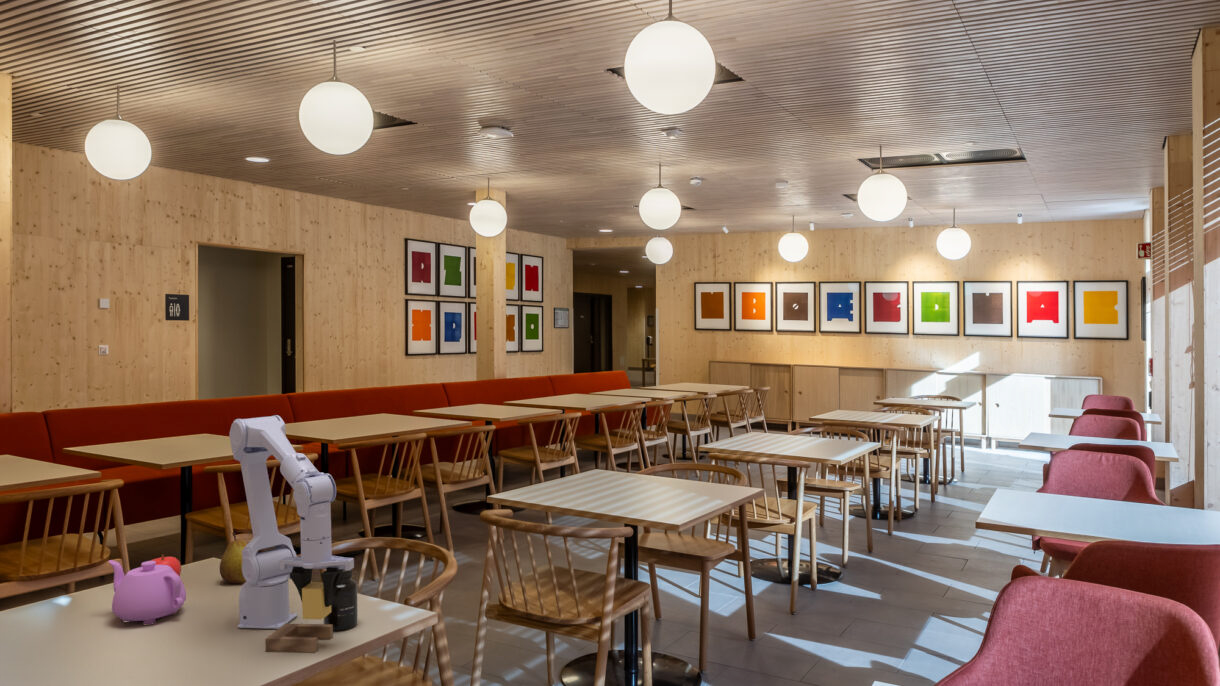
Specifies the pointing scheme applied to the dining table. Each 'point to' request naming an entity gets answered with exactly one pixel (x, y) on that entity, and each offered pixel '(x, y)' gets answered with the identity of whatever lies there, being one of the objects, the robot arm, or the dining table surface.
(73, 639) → the dining table surface
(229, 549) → the fruit
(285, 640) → the wooden u-shaped bracket
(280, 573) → the robot arm
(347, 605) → the supplement bottle
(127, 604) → the teapot
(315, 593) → the block
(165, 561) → the apple
